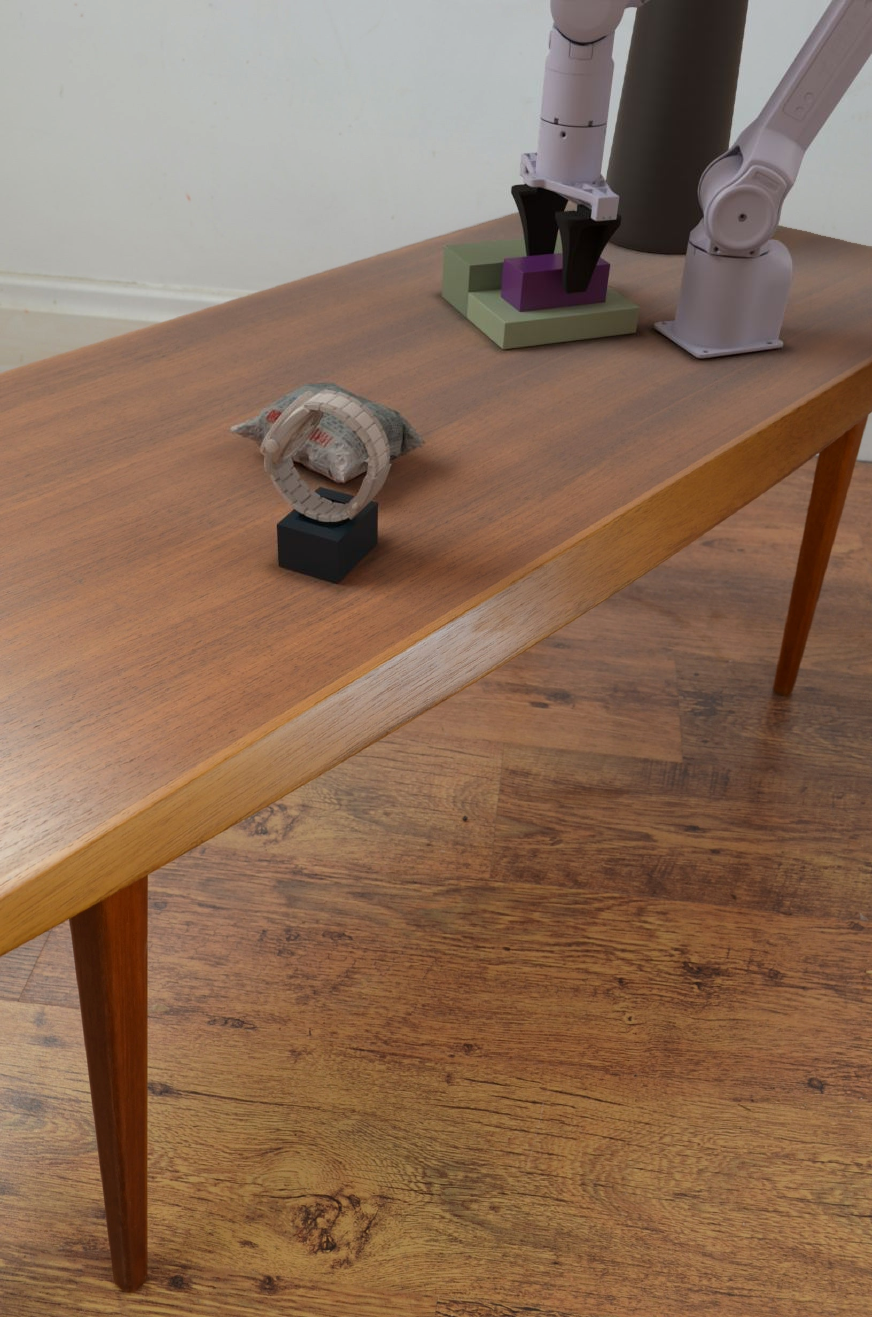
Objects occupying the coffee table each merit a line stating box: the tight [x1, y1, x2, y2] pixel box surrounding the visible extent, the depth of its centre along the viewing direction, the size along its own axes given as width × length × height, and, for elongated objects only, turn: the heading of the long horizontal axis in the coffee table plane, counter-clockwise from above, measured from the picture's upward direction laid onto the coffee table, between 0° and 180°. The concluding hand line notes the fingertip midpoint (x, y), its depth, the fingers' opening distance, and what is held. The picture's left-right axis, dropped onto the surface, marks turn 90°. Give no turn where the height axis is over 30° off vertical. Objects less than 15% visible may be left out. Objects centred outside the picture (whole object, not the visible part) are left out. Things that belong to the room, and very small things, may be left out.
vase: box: [605, 0, 749, 255], centre depth 124 cm, size 14×14×29 cm
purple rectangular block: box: [501, 253, 611, 312], centre depth 106 cm, size 9×4×4 cm, turn 113°
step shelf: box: [441, 234, 641, 350], centre depth 110 cm, size 14×14×5 cm
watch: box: [259, 389, 392, 585], centre depth 72 cm, size 6×8×11 cm
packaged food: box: [229, 381, 426, 484], centre depth 84 cm, size 9×12×5 cm
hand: (556, 278), depth 106 cm, fingers open, 6 cm apart
